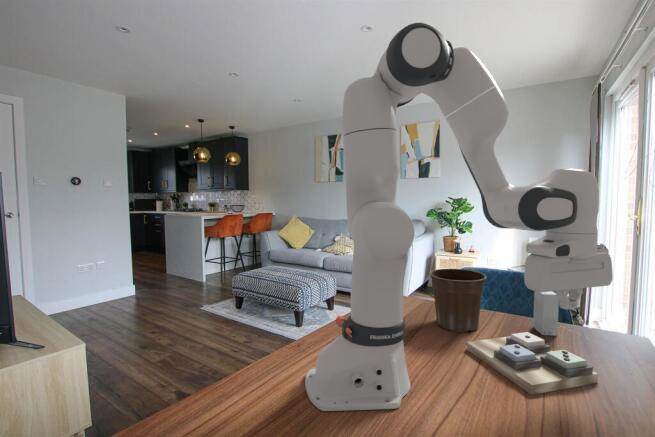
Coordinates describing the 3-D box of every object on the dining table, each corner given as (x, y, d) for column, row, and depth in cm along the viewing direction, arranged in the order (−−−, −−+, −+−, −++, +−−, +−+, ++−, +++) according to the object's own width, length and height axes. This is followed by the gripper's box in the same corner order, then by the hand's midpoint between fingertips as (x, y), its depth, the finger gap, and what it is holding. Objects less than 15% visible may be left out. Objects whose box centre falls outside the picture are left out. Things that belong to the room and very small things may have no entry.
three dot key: (567, 371, 68) (567, 362, 67) (546, 359, 72) (546, 351, 72) (585, 368, 69) (586, 359, 69) (563, 357, 74) (564, 348, 73)
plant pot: (426, 330, 96) (427, 277, 95) (431, 312, 111) (431, 266, 110) (487, 339, 90) (488, 282, 89) (483, 319, 104) (484, 270, 103)
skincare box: (558, 336, 91) (559, 295, 90) (541, 335, 92) (542, 294, 91) (548, 327, 97) (549, 289, 96) (532, 326, 98) (533, 288, 97)
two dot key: (516, 364, 71) (516, 355, 70) (499, 353, 75) (499, 345, 75) (535, 361, 72) (535, 352, 72) (517, 351, 77) (517, 343, 76)
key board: (531, 394, 64) (532, 377, 64) (466, 349, 84) (467, 336, 84) (597, 382, 68) (598, 366, 68) (520, 342, 88) (521, 329, 88)
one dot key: (527, 349, 77) (527, 341, 77) (511, 340, 82) (511, 333, 82) (544, 347, 78) (544, 339, 78) (527, 338, 83) (527, 331, 83)
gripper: (592, 241, 74) (590, 299, 75) (519, 245, 70) (518, 307, 71) (623, 244, 68) (620, 308, 69) (545, 249, 64) (543, 318, 64)
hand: (568, 308), depth 70 cm, fingers closed
